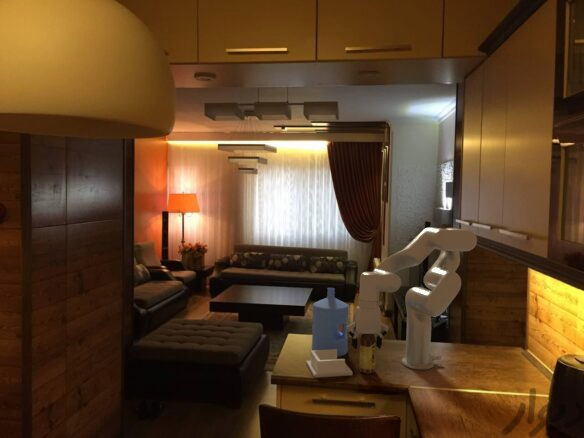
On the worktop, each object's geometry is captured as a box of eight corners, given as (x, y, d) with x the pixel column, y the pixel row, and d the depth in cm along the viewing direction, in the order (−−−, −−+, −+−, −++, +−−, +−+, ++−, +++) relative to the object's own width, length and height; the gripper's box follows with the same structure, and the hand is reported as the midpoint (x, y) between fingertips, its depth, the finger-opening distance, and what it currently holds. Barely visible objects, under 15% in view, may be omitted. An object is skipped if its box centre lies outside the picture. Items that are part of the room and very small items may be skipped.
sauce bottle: (375, 375, 175) (376, 324, 174) (358, 373, 176) (360, 322, 175) (375, 368, 181) (376, 319, 180) (359, 367, 183) (360, 318, 181)
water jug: (307, 355, 194) (309, 290, 193) (316, 344, 209) (317, 283, 208) (343, 360, 190) (345, 293, 188) (350, 348, 205) (352, 286, 203)
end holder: (341, 361, 188) (342, 348, 188) (352, 375, 175) (352, 360, 174) (306, 363, 186) (306, 349, 185) (314, 377, 172) (314, 362, 171)
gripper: (386, 301, 182) (383, 344, 183) (344, 302, 179) (342, 345, 180) (393, 306, 175) (391, 350, 176) (350, 306, 172) (348, 351, 173)
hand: (366, 347), depth 178 cm, fingers open, 9 cm apart
